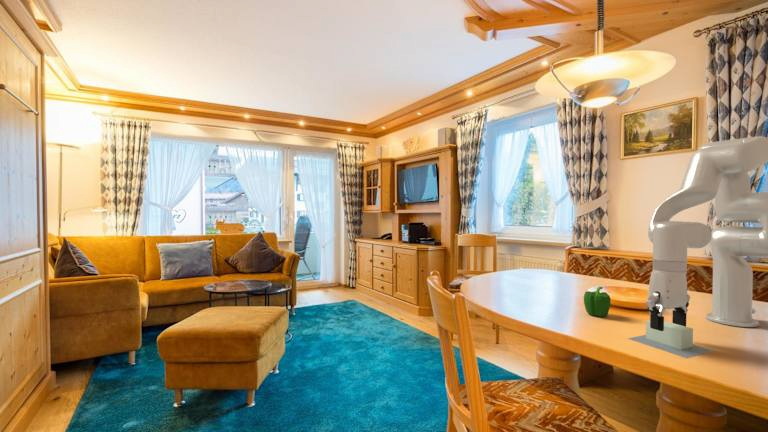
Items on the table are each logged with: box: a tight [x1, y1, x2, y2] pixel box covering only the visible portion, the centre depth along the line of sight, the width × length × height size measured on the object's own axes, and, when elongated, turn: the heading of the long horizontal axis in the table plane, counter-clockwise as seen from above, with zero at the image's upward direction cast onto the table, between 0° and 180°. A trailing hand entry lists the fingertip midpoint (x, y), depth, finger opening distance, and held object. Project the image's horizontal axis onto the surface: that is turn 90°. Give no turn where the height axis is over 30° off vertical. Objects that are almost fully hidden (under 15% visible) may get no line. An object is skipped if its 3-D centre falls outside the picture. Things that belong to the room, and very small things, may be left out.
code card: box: [627, 334, 715, 359], centre depth 100 cm, size 12×15×1 cm
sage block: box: [645, 320, 694, 349], centre depth 101 cm, size 5×9×5 cm, turn 22°
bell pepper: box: [583, 285, 612, 318], centre depth 127 cm, size 8×8×10 cm
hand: (668, 327), depth 101 cm, fingers open, 9 cm apart
